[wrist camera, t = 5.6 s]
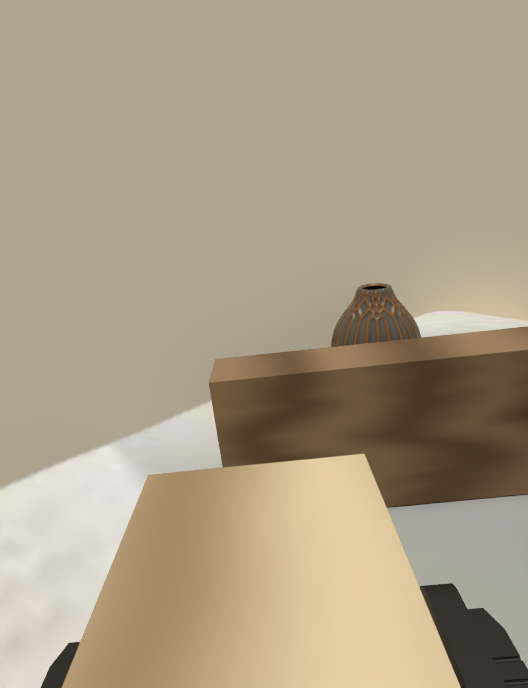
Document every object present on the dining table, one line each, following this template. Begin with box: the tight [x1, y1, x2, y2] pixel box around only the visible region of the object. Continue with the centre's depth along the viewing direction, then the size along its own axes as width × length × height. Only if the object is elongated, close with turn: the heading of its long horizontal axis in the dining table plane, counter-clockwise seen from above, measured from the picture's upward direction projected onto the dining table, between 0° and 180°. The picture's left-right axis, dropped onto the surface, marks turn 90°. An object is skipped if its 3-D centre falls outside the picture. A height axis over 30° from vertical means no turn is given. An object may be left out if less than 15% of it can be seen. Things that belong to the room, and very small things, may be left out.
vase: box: [331, 283, 421, 347], centre depth 32 cm, size 7×7×9 cm
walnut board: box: [209, 327, 528, 507], centre depth 22 cm, size 20×3×8 cm, turn 90°
